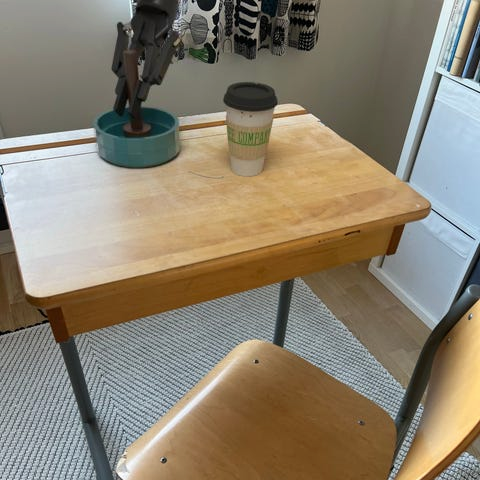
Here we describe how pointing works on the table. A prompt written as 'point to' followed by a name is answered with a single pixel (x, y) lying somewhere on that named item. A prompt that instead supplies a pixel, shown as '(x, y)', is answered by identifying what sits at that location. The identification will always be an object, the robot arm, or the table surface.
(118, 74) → the robot arm
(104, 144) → the bowl
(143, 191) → the table surface
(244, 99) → the coffee cup
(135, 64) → the brown pestle
